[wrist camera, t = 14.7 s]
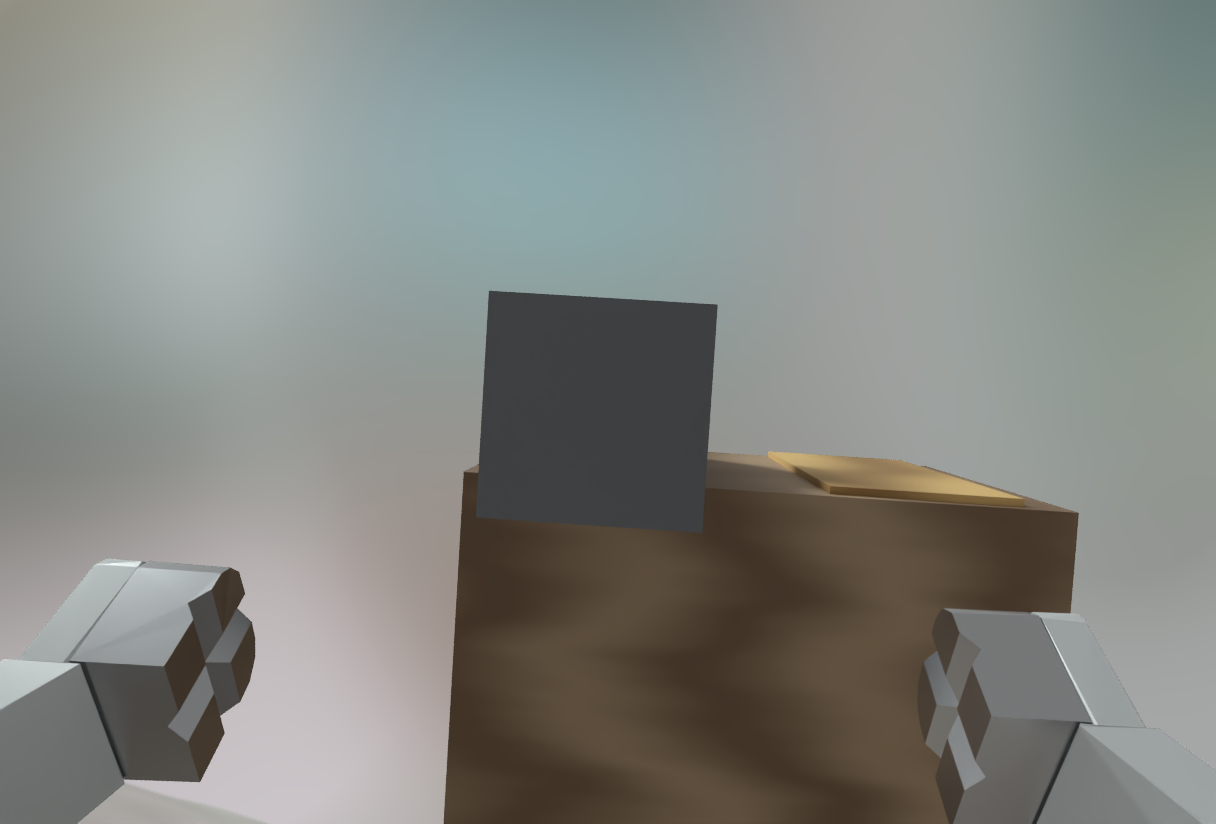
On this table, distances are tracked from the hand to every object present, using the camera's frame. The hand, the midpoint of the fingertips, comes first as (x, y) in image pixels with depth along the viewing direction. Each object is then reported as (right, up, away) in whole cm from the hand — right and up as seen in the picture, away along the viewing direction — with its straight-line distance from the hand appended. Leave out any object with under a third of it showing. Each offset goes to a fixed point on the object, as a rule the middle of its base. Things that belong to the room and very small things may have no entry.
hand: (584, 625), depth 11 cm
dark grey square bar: (0, +1, +13) cm, 13 cm away
